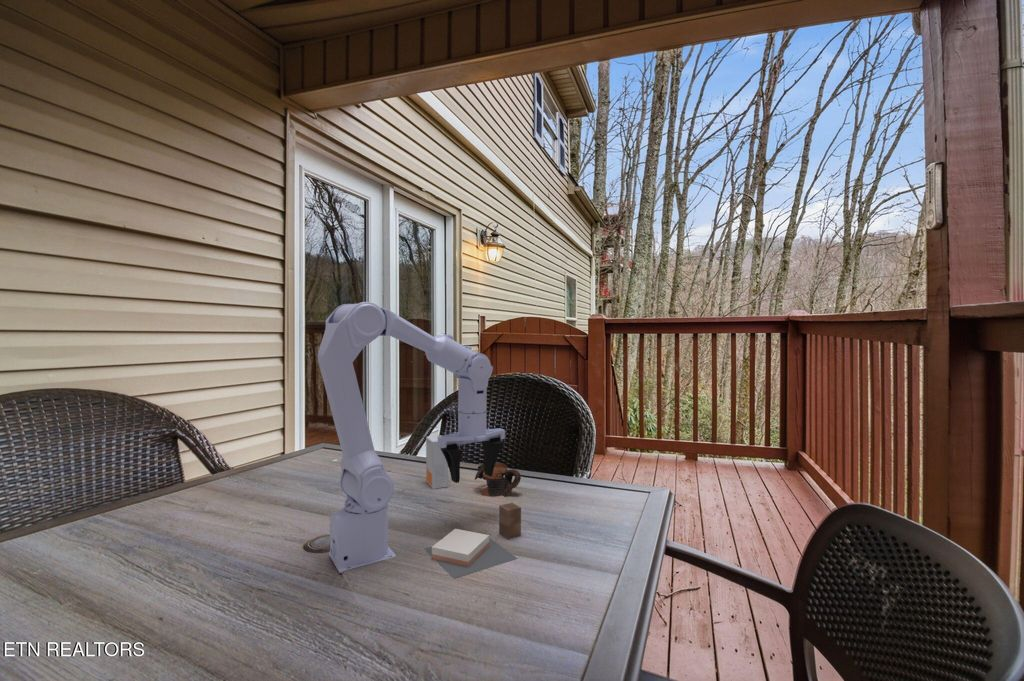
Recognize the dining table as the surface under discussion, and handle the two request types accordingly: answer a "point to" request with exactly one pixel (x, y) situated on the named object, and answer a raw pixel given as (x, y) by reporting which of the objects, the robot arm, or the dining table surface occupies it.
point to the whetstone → (460, 547)
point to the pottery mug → (498, 480)
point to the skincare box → (435, 464)
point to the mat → (478, 560)
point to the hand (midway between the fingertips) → (472, 478)
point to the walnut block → (510, 520)
